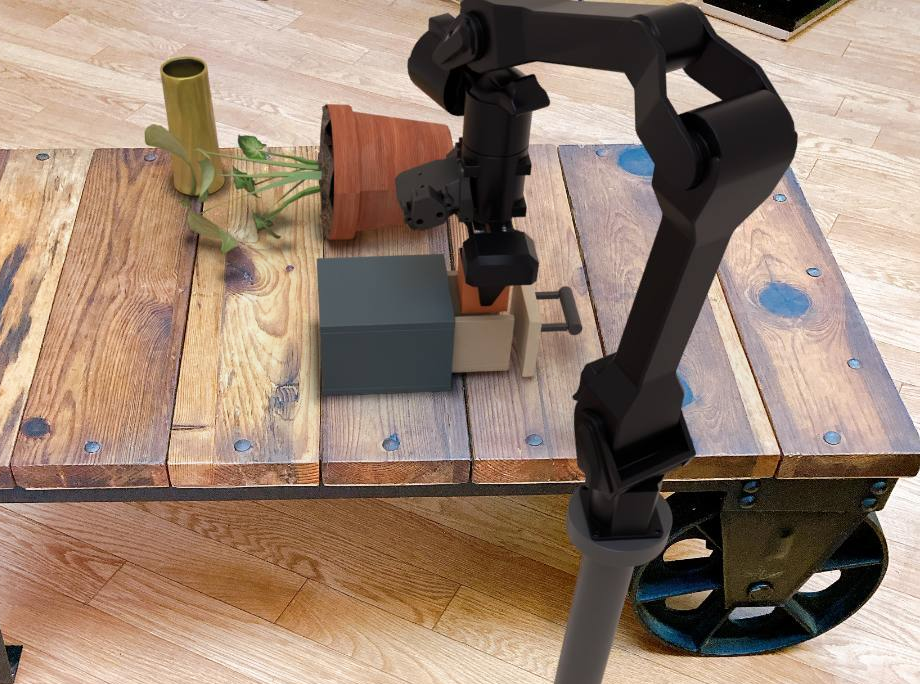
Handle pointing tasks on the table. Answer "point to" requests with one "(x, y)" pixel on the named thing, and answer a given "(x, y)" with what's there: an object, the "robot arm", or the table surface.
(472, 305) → the block
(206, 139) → the vase
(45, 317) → the table surface
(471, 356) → the drawer
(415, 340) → the cabinet
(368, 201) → the potted plant
